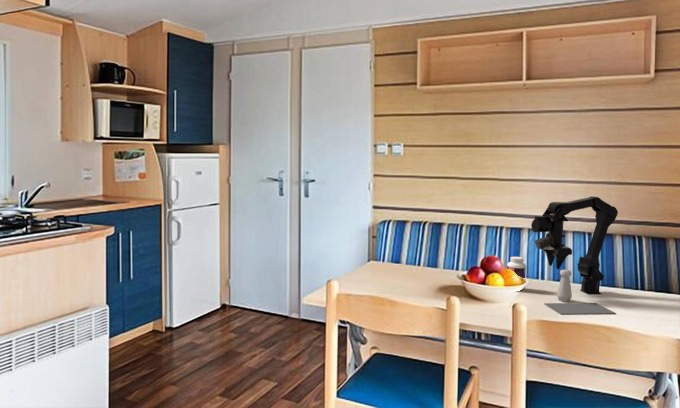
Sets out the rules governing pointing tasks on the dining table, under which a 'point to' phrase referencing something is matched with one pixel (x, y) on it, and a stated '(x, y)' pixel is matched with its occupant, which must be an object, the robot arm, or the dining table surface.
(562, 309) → the mat
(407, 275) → the dining table surface
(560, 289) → the salt shaker
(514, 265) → the pill bottle
